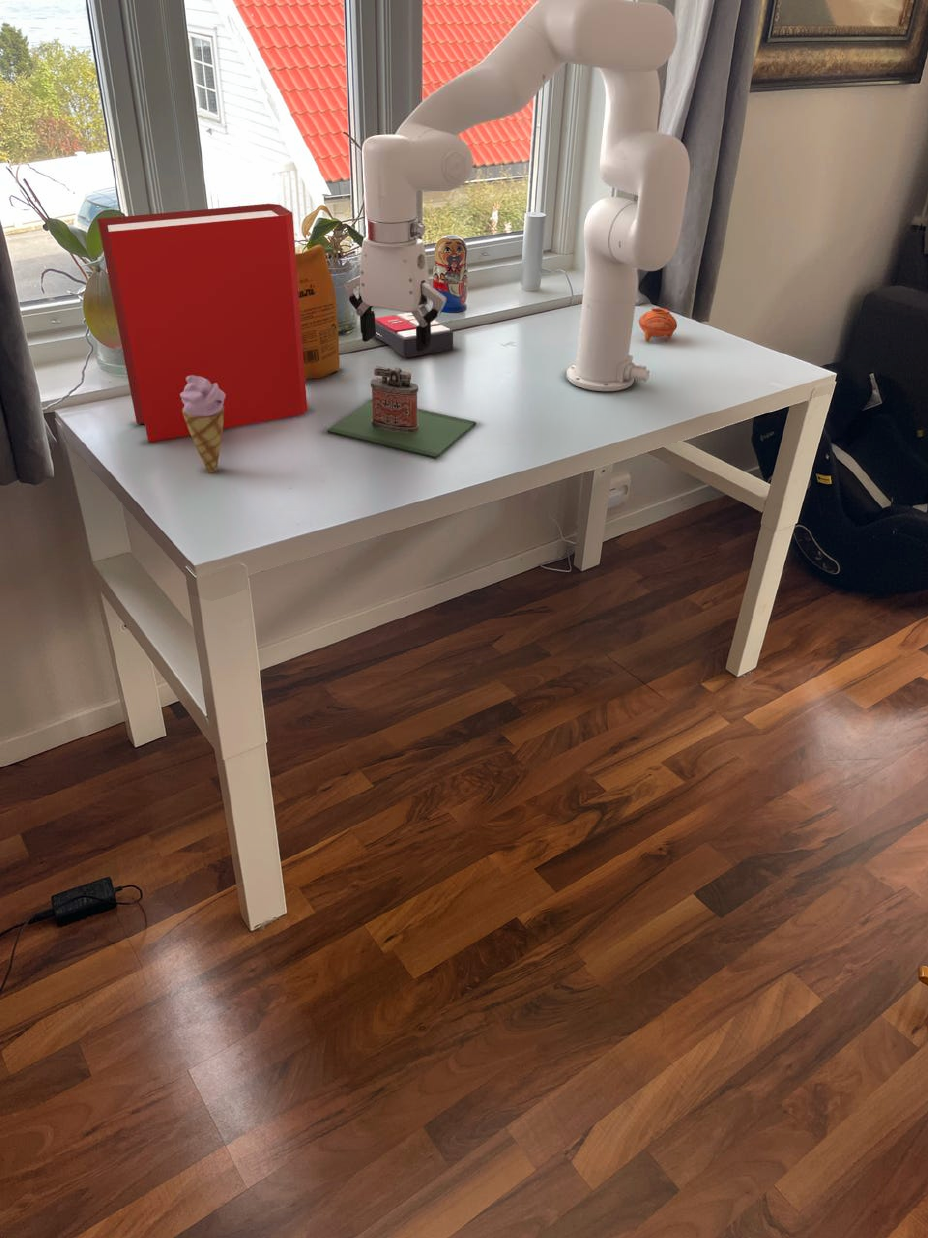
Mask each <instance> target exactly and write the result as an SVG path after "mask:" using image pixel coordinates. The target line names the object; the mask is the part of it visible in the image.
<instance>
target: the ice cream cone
mask: <svg viewBox="0 0 928 1238" xmlns="http://www.w3.org/2000/svg"><path fill="white" fill-rule="evenodd" d="M186 381H187V382H188V384H187V385H186V386H185V388H184V391H183V392H182V393H180V397H181V399H182V402H183V403H184V407H183V409H182V412H183V415H184V418H185V421H186V424H187V426H188V429H189V432H190V434H191V435H190V436H191V439H192V441H193V443H194V446H195V448H196V450H197V452H198V455H199V456H200V459H201V461H202V463H203V465H204V467H205V469H206V471H207V473H209V474H214V473H215V474H216V472H218V465H219V459H220V453H221V447H222V439H223V431H224V429H223V420H224V405H223V403H224V399H225V397H226V395H225V393H224V392H223V391H222V390H220V389H219V387H218V384H217V383H215V384H210V382H209V381H208V380H207V379H205V378H203V377H198V376H194V375H192V376H188V377H187V378H186Z"/></svg>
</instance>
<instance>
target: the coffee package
mask: <svg viewBox="0 0 928 1238" xmlns="http://www.w3.org/2000/svg"><path fill="white" fill-rule="evenodd" d="M295 254H296V267H297V279H298V292H299V305H300V318H301V331H302V344H303V357H304V370H305V380H308V379H322V378H325V377H326V376H327V377H328V376H329V375H331V374H333V373H335V372H338V371H339V370H340V369H341V368H340V367H341V366H340V364H341V363H340V362H341V361H340V339H339V319H338V305H337V304H338V303H337V296H336V289H335V284H334V281H333V278H332V273H331V271H330V269H329V264H328V259H327V257H326V256H327V255H326V253H325V250H324V247H323V245H322V244H316V245H314V246H312V247H311V248H309V249H307V250H305V251H303V252H300V253H297V252H295Z"/></svg>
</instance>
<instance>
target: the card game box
mask: <svg viewBox="0 0 928 1238" xmlns="http://www.w3.org/2000/svg"><path fill="white" fill-rule="evenodd" d="M418 325H419V323H418V322H417V320H416V319H415V317H414V316H413V314H412V313H409V312H403V313H398V314H397V315H395V314H393V315H387V316H379V317H375V326H376V332H377V333H379V334H380V335H382V337H380V336H379V335H377V334H376V336H375V337H374V338H376V339H378V340H380V341H382V342H383V343H385V344H386V345H388V346H390V347H392V348H393V349H394V351H395V352H396V354H398V355H400V356H402V357H403V358H411V357H418V356H423V355H429V354H434V353H440V352H445V351H451V350H454V331H453V330H451V329H450V328H449V327H446V326H445V325H443V324H441V323H440V322H439V321H437V320H436V319H434V321H432V322H431V343H430V345H429V347H427V348H426V349H425V350H423V351H422V352H418V351H417V350H416V327H417V326H418Z"/></svg>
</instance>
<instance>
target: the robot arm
mask: <svg viewBox="0 0 928 1238" xmlns="http://www.w3.org/2000/svg"><path fill="white" fill-rule="evenodd" d="M677 41H678V26H677V22H676V19H675V17H674V15H673V13H672V12H671V11H670V10H669V9H668V8H667V7H666V6H664V5H662V4H660V3H655V2H653V3H652V2H644V1H634V0H537V1H536V2H535V3H534V4H533V5H532V6H531V7H530V8H529V9H528V10H527V12H525V14H524V15H523V16H522V17H521V18H520V19H519V21H518V22H516V23H515V25H514V26H513V27H512V28H511V29H510V30H509V31H508V32H507V34H506V35H505V36H504V37H503V38H502V39H501V40H500V42H499V43H497V45H495V46H494V48H493V49H492V50H491V51H490V52H489V53H488V54H487V55H486V57H484V58H483V59H482V60H481V61H480V62H479V63H477V64H476V65H474V66H472V67H470V68H469V69H467V70H465V71H463V72H461V73H460V74H458V75H457V76H456V77H454V78H453V79H451V80H449V81H447V82H446V83H444V84H443V85H441V86H440V87H438V88H437V89H435V90H434V91H433V92H432V93H430V94H429V95H428V96H427V97H425V98H424V99H423V101H421V102H420V103H419V104H418V105H417V106H416V107H415V109H414V110H413V111H412V112H411V113H410V114H409V115H408V116H407V118H406V119H404V121H403V122H402V123H401V125H400V126H399V128H398V129H397V131H396V132H395V133H394V134H378V135H373V136H369V137H368V138H366V139H365V140H364V141H363V144H362V147H361V152H362V153H361V158H362V159H361V161H362V176H363V177H362V178H363V181H362V182H363V197H364V215H365V218H364V219H365V232H366V233H365V237H363V240H362V246H361V250H360V251H361V252H360V259H359V260H360V261H359V262H360V263H359V276H357V277H354V278H352V279H350V280H348V281H345V282H344V283H343V286H342V287H343V289H344V291H345V293H346V295H347V297H348V301H349V303H350V304H351V305H352V307H353V308H354V309H355V313H356V315H357V316H359V324H360V334H361V339H362V342H365V343H367V342H368V341H370V340H372V339H373V338H376V337H375V336H376V326H375V318H376V313H375V311H374V310H372V309H373V308H377V309H378V308H379V309H385V310H389V311H390V310H391V311H396V312H401V313H402V312H403V313H412V314H413V316H414V317H415V319H416V320H417V322H418V323H419V325H418V326H417V327H416V350H417V351H418V352H422V351H423V350H425V349H426V348H427V347H429V345H430V343H431V322H432V321H434V320H436V319H437V318H438V317H439V316H440V315H441V313H442V310H443V309H444V307H445V305H446V303H447V297H446V296H445V295H444V294H442V293H441V292H439V291H438V290H437V289H435V288H434V287H433V286H431V285H430V274H429V265H428V260H427V254H426V250H425V245H424V241H423V239H420V238H419V236H421V237H422V236H424V235H425V233H426V228H425V226H424V225H421V224H419V218H418V207H417V205H418V204H417V201H418V200H417V199H418V198H417V192H419V191H426V192H427V191H429V192H448V191H453V190H456V189H458V188H460V187H462V186H463V185H464V184H465V183H466V182H467V180H468V179H469V177H470V176H471V173H472V170H473V165H474V164H473V163H474V158H473V155H472V151H471V148H470V147H469V146H468V143H466V142H465V141H464V140H463V139H462V138H460V137H459V135H461V134H462V133H464V132H465V131H467V130H469V129H471V128H472V127H476V126H477V125H478V126H479V125H480V124H484V123H487V122H492V121H495V120H496V121H497V120H500V119H503V118H508V117H509V116H511V115H515V114H517V113H519V112H521V111H522V110H523V109H524V108H525V107H526V106H527V105H528V104H529V103H530V102H531V100H532V99H533V98H534V97H535V96H536V95H537V94H538V93H539V92H540V91H541V89H542V88H543V87H544V86H546V84H547V83H548V82H549V81H550V80H551V78H552V77H554V76H555V75H556V74H557V72H558V71H559V70H561V68H562V67H563V66H565V64H572V65H577V66H584V67H591V68H597V69H598V71H599V72H600V75H601V77H602V81H603V84H604V88H605V108H604V109H605V110H604V111H605V112H604V118H603V119H604V120H603V128H602V137H601V147H600V155H599V156H600V157H599V174H600V178H601V179H602V181H603V182H604V183H605V184H606V185H607V186H608V187H610V188H613V189H615V190H617V191H621V192H623V193H627V194H631V195H634V196H636V197H638V198H637V201H634V200H631V199H627V198H625V197H620V196H619V197H618V196H608V197H604V198H602V199H599V200H598V201H596V202H595V203H594V204H593V205H592V206H591V207H590V209H589V210H588V212H587V214H586V216H585V219H584V224H583V233H582V234H583V235H582V236H583V248H584V278H583V279H584V281H583V292H582V299H581V300H582V301H581V310H580V319H579V331H578V341H577V351H576V360H575V363H574V364H572V365H571V366H569V367H568V368H567V369H566V379H567V380H568V381H569V382H570V383H571V384H572V385H574V386H576V387H578V388H581V389H584V390H589V391H594V392H616V391H617V392H618V391H622V390H625V389H627V388H629V387H631V386H633V384H634V381H635V380H638V381H643V382H644V381H645V382H647V381H648V380H649V376H650V370H648V369H647V366H646V365H639V364H635V362H633V360H634V356H633V355H630V351H631V350H630V349H631V341H632V334H633V328H634V327H633V326H634V320H635V319H634V318H635V313H636V312H635V311H636V310H635V309H636V303H637V297H638V291H639V275H638V270H642V271H646V272H655V271H659V270H661V269H662V268H664V267H665V266H667V265H668V263H670V261H671V260H672V259H673V257H674V255H675V252H676V250H677V248H678V244H679V241H680V236H681V231H682V226H683V221H684V220H683V219H684V213H685V207H686V203H687V195H688V189H689V182H690V176H691V163H690V156H689V153H688V149H687V148H686V147H685V144H684V143H683V142H682V141H681V140H680V139H678V138H677V137H675V136H673V135H670V134H666V133H662V132H659V131H658V122H659V114H660V113H659V112H660V102H661V85H660V83H661V82H660V79H659V74H658V69H660V68H661V67H663V66H665V64H666V63H667V62H668V61H669V60H670V58H671V56H672V55H673V54H674V51H675V49H676V46H677ZM357 287H359V288H360V289H359V291H360V293H358V289H357ZM430 301H431V303H432V307H431V309H429V307H428V306H427V305H428V304H429V303H430Z"/></svg>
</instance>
